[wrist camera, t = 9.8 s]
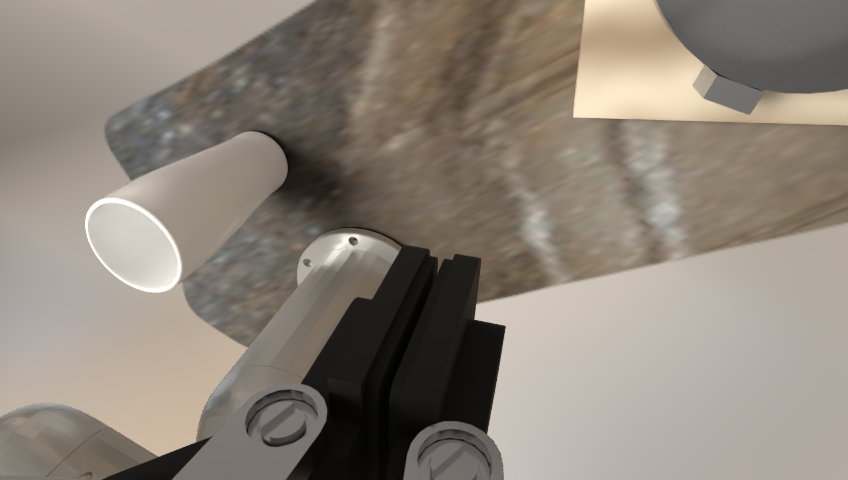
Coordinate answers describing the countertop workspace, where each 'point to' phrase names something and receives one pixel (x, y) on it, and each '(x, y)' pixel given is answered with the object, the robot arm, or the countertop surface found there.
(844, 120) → the nut base
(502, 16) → the countertop surface
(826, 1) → the tabbed metal disc
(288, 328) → the robot arm
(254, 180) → the white tall cup
